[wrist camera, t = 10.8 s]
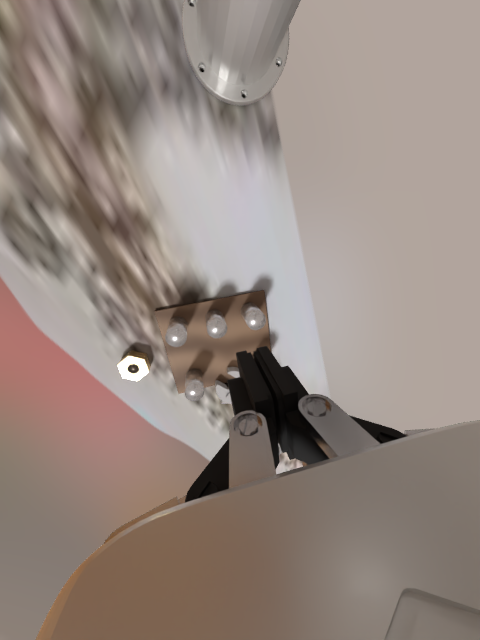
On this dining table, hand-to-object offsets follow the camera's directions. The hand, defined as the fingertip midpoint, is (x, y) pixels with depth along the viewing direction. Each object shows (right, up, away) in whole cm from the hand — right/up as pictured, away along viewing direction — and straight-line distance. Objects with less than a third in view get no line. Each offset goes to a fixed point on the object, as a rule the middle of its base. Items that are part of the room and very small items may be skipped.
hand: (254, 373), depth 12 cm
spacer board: (-4, -1, +29) cm, 29 cm away
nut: (-18, -4, +27) cm, 33 cm away
